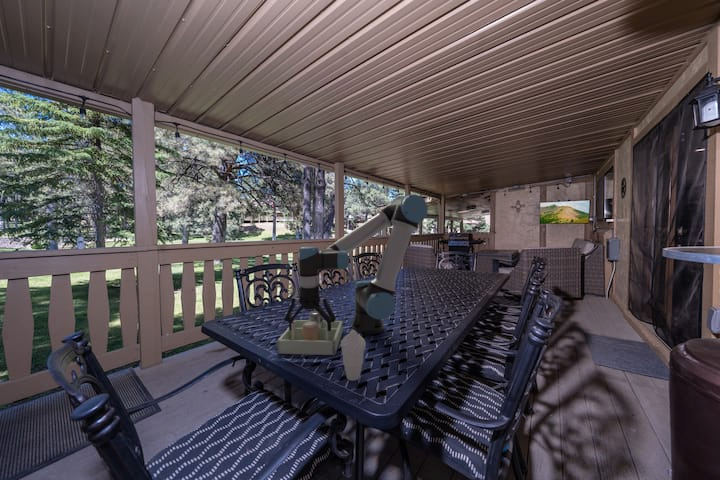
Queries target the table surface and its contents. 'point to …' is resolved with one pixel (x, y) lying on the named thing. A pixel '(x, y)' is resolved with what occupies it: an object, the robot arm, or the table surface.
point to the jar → (310, 331)
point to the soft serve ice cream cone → (353, 354)
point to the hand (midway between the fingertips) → (310, 338)
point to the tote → (311, 346)
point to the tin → (316, 318)
